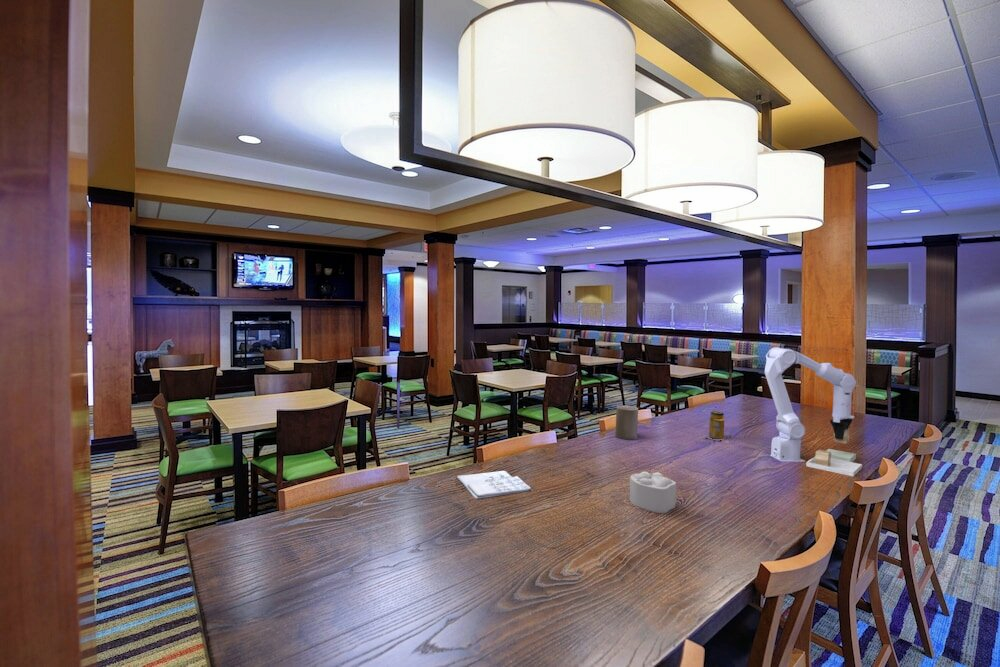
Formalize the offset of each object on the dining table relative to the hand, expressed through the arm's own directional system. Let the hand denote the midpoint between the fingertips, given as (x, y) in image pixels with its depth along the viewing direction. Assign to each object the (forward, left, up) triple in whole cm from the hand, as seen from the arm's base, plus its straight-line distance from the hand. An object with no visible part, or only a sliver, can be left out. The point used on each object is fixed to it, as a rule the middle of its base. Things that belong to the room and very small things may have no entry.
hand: (840, 437), depth 185 cm
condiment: (-34, +31, -9) cm, 47 cm away
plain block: (-11, -7, -8) cm, 16 cm away
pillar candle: (-74, +33, -9) cm, 82 cm away
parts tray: (-9, -9, -9) cm, 16 cm away
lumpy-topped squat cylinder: (-88, -41, -9) cm, 97 cm away
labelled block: (0, 0, -1) cm, 1 cm away
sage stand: (0, +1, -9) cm, 9 cm away
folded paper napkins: (-136, -25, -10) cm, 138 cm away
